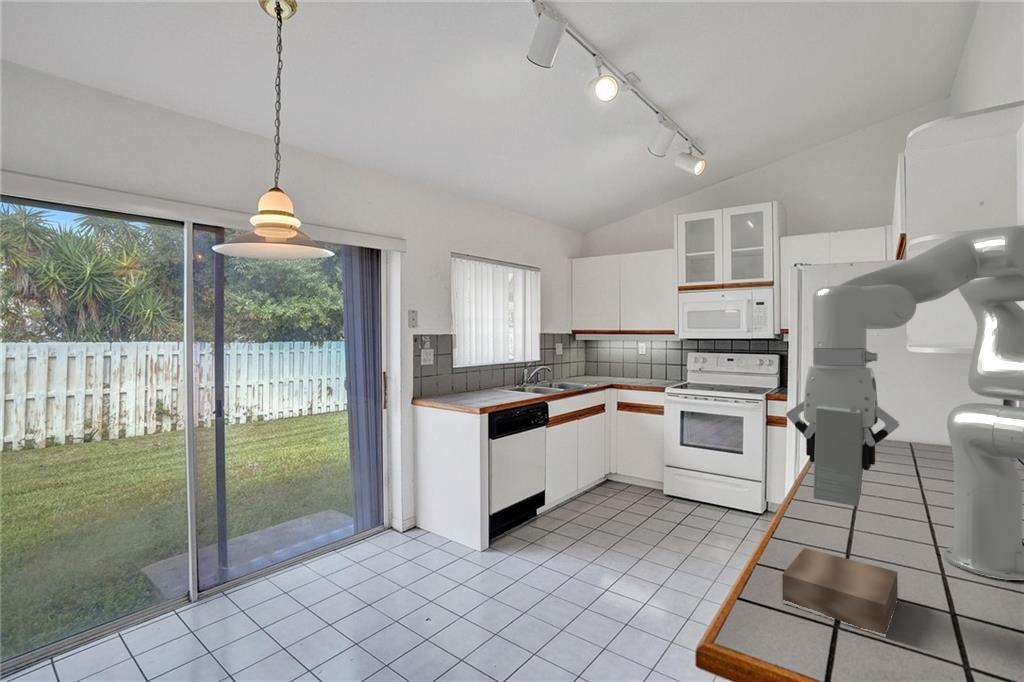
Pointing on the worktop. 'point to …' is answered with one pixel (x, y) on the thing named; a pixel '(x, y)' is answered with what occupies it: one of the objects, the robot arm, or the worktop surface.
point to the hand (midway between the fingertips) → (839, 463)
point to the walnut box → (842, 589)
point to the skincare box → (838, 455)
